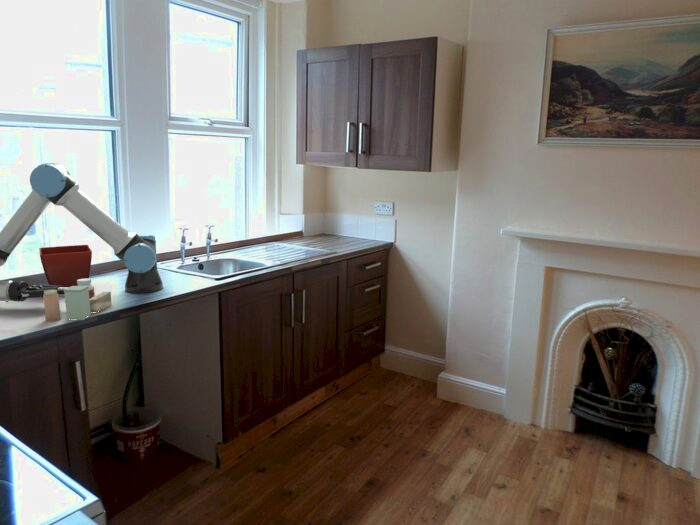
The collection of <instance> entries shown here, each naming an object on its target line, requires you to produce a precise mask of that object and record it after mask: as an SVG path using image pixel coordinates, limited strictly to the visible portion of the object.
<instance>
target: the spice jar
mask: <svg viewBox="0 0 700 525" xmlns="http://www.w3.org/2000/svg"><path fill="white" fill-rule="evenodd" d="M59 296H60V295H58V293H57V290H46V291H44V295H43V297H42V298H43V306H44V315H45V316H44V317H45V322H56V320H57V321H60V320H61V318H62V317H61V309H60V306H61V305H60V300H59V299H60V298H59Z"/></svg>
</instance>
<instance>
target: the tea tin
mask: <svg viewBox="0 0 700 525" xmlns="http://www.w3.org/2000/svg"><path fill="white" fill-rule="evenodd" d="M88 288H89V286H71V287H69V288H67V289H65V290H64V293H65V295H64V302H65V310H66V311H65V312H66V320H67V321H72V320H71V319H77V320H76V321H84V320H86V319H87V318H86V317H87V316H89V315H90V314H91V315H92V313H91V311H90V300H89V290H88ZM89 317H90V316H89ZM85 318H86V319H85ZM69 319H70V320H69Z"/></svg>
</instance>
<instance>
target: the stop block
mask: <svg viewBox="0 0 700 525" xmlns="http://www.w3.org/2000/svg"><path fill="white" fill-rule="evenodd" d="M111 292H112V291H102V292H99V293H97V294H95V296H94V297H92V298H90V299H89V300H90V311H91V312H98V311H100V310H102V309H103V308H105V307H107V306H108V307H110V306H111V305H112V294H111ZM110 304H111V305H110ZM109 305H110V306H109ZM108 307H107V308H108ZM105 309H106V308H105ZM103 310H104V309H103ZM103 310H102V311H103ZM100 312H101V311H100ZM98 313H99V312H98Z"/></svg>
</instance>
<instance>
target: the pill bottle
mask: <svg viewBox="0 0 700 525" xmlns="http://www.w3.org/2000/svg"><path fill="white" fill-rule="evenodd" d="M77 284H78V286H89V288H88V290H89V299H90V298H92V297H94V296H96V294H95V287H94V285H93V284H92V279H91V278H89V279H88V278H86V279H79V280H77Z"/></svg>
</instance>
